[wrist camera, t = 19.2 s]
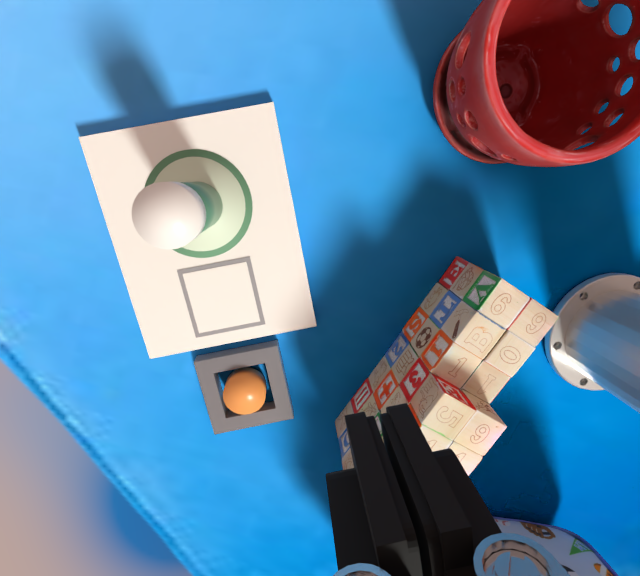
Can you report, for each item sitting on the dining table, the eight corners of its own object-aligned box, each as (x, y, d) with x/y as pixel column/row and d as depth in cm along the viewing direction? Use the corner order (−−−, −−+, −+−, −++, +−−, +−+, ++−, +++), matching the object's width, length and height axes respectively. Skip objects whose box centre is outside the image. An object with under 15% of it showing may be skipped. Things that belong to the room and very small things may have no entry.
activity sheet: (273, 103, 35) (273, 101, 34) (316, 322, 41) (316, 326, 40) (84, 137, 35) (78, 137, 34) (153, 354, 40) (149, 359, 39)
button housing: (277, 339, 41) (277, 345, 40) (293, 410, 43) (293, 418, 42) (196, 355, 41) (193, 362, 39) (216, 425, 43) (214, 434, 42)
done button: (261, 363, 41) (260, 373, 39) (270, 399, 42) (269, 410, 40) (221, 371, 41) (218, 381, 39) (231, 406, 42) (228, 418, 40)
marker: (218, 176, 35) (191, 177, 26) (228, 226, 36) (206, 244, 27) (168, 184, 35) (123, 187, 26) (180, 233, 36) (141, 254, 27)
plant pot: (570, 149, 38) (692, 140, 27) (431, 182, 38) (494, 187, 27) (562, -13, 35) (700, -105, 23) (408, 22, 34) (470, -52, 23)
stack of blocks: (455, 252, 40) (525, 287, 28) (503, 286, 41) (590, 332, 30) (333, 422, 44) (350, 514, 32) (381, 447, 45) (414, 544, 34)
